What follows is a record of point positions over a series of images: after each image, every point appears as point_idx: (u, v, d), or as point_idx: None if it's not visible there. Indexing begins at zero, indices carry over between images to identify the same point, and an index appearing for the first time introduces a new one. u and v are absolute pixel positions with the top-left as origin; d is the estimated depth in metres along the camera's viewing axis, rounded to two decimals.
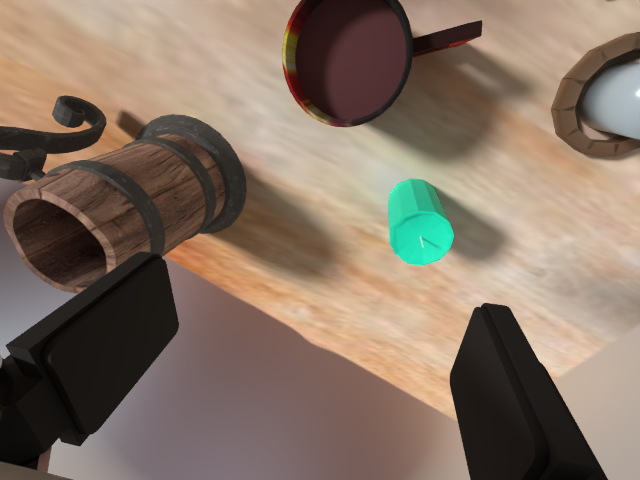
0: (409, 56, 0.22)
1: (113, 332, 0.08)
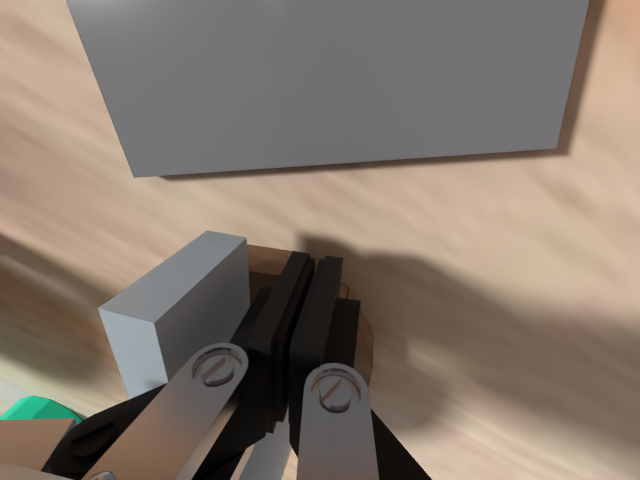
0: None
1: None
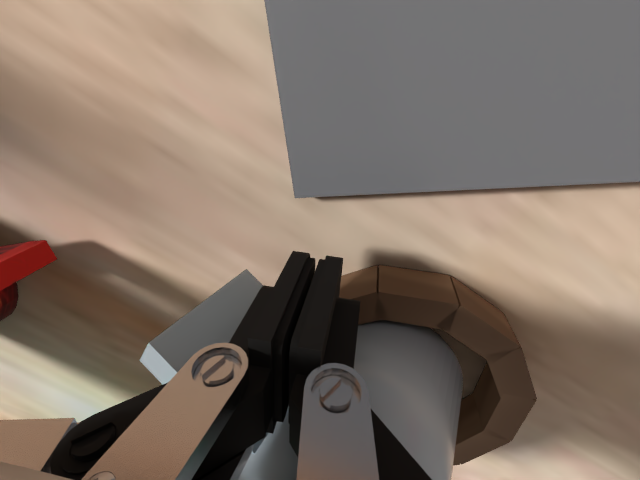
0: None
1: None
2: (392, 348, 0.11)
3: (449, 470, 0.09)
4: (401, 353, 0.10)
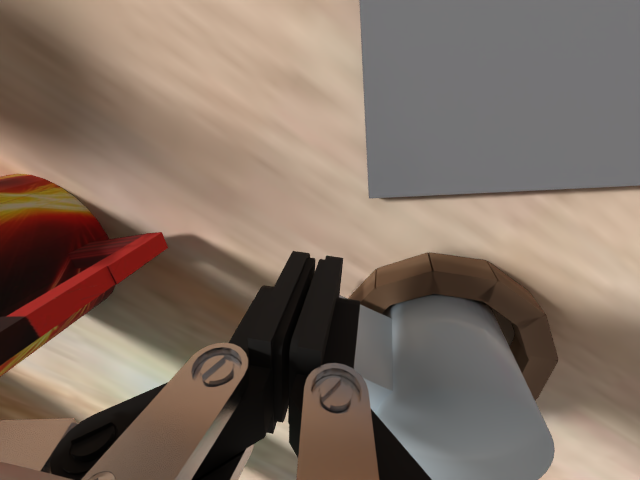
0: None
1: None
2: (440, 296, 0.14)
3: (513, 356, 0.13)
4: (448, 297, 0.14)
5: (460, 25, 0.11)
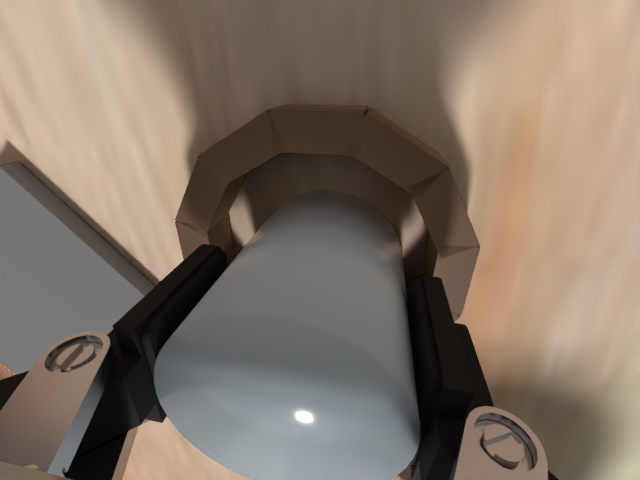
0: None
1: None
2: None
3: None
4: None
5: None
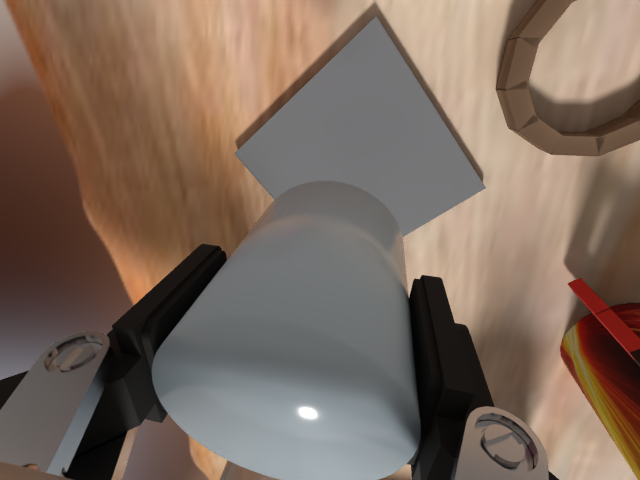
0: None
1: None
2: None
3: None
4: None
5: (389, 198, 0.25)
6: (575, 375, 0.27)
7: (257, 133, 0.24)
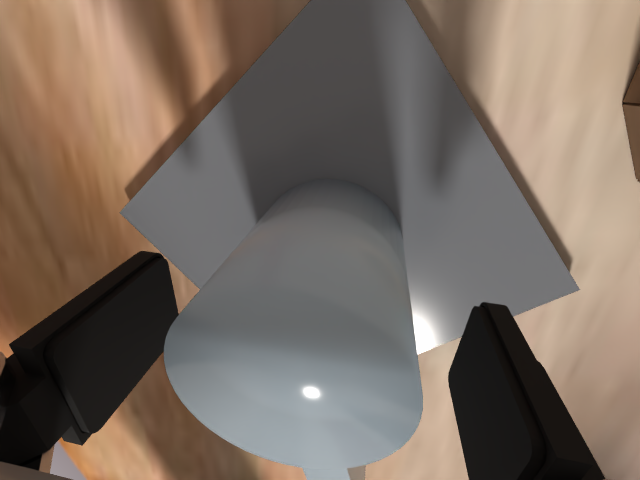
0: None
1: (115, 331, 0.08)
2: None
3: None
4: None
5: None
6: None
7: (152, 180, 0.13)
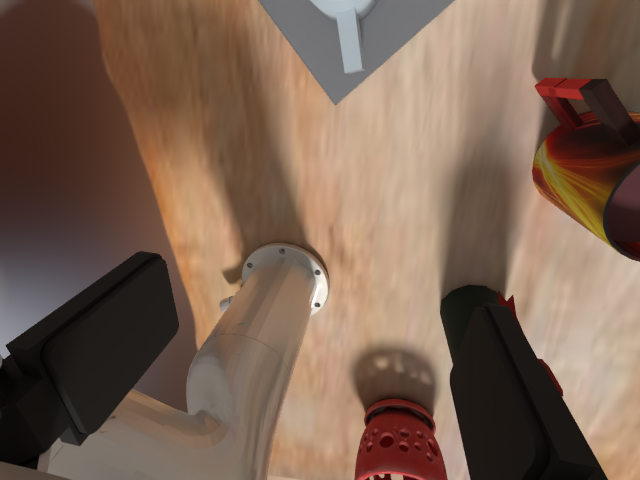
0: None
1: (113, 332, 0.08)
2: None
3: None
4: None
5: (378, 13, 0.28)
6: (543, 183, 0.30)
7: None
